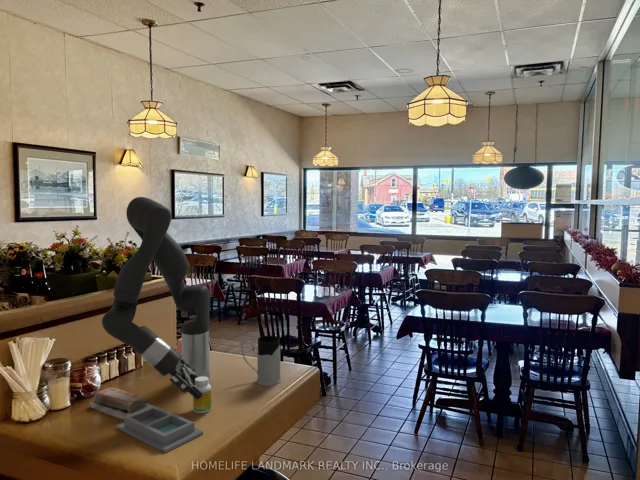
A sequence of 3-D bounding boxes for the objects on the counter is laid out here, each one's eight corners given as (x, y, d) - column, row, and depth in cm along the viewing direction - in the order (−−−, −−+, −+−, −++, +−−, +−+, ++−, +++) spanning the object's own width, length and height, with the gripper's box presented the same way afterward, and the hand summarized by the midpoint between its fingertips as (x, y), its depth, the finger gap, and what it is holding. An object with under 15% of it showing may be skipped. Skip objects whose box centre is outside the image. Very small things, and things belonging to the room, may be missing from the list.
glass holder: (278, 386, 167) (277, 343, 165) (238, 383, 169) (237, 340, 168) (284, 376, 175) (284, 335, 174) (246, 374, 178) (245, 333, 176)
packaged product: (87, 393, 150) (115, 383, 158) (88, 409, 150) (116, 397, 159) (127, 406, 141) (154, 394, 149) (127, 422, 141) (155, 409, 150)
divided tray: (116, 428, 137) (116, 417, 137) (153, 412, 146) (153, 402, 146) (165, 452, 124) (165, 440, 124) (202, 434, 133) (202, 422, 133)
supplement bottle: (207, 414, 145) (206, 382, 144) (190, 412, 146) (189, 381, 146) (214, 406, 151) (213, 376, 150) (198, 405, 152) (197, 374, 151)
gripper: (166, 354, 138) (208, 391, 141) (173, 339, 152) (212, 373, 155) (147, 373, 138) (190, 410, 141) (156, 357, 152) (195, 391, 155)
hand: (201, 391), depth 148 cm, fingers open, 8 cm apart
